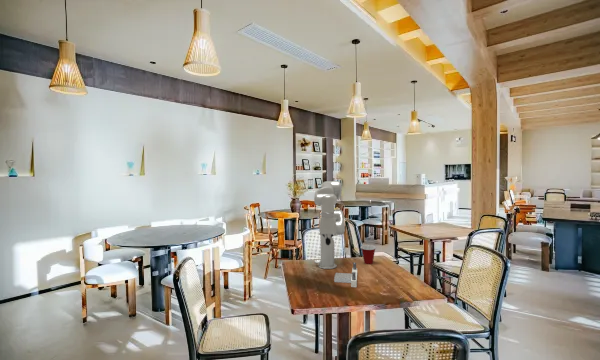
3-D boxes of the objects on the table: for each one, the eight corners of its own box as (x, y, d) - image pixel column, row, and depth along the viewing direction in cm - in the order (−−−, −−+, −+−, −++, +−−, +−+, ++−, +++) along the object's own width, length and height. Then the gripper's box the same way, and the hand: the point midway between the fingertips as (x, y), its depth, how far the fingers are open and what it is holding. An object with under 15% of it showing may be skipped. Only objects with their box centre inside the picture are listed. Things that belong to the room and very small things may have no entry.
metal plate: (334, 282, 189) (334, 277, 189) (335, 277, 199) (335, 272, 199) (351, 283, 187) (351, 278, 187) (352, 278, 197) (352, 273, 197)
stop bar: (351, 287, 180) (351, 273, 180) (352, 273, 206) (352, 261, 205) (356, 287, 179) (356, 274, 179) (357, 273, 205) (357, 262, 205)
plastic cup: (358, 264, 228) (358, 247, 228) (363, 260, 237) (363, 244, 237) (373, 266, 223) (373, 248, 223) (377, 262, 232) (377, 245, 232)
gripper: (315, 215, 195) (315, 245, 196) (339, 216, 192) (339, 246, 192) (317, 214, 202) (317, 242, 203) (340, 214, 199) (340, 243, 200)
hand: (328, 244), depth 198 cm, fingers closed
